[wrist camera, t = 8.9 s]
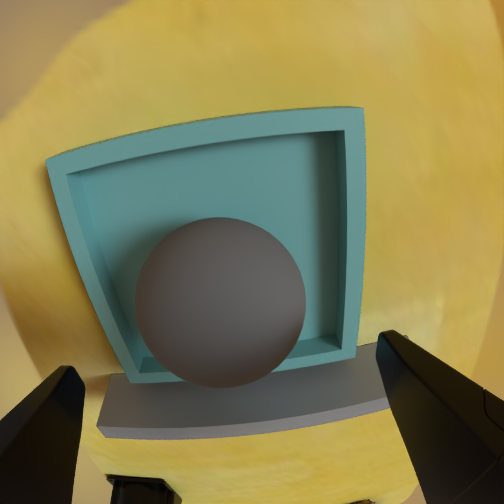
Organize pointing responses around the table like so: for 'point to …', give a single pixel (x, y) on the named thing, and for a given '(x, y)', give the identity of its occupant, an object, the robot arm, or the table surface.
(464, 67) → the table surface
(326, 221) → the dish
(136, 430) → the low wall
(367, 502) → the decorative rock
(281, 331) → the ball
